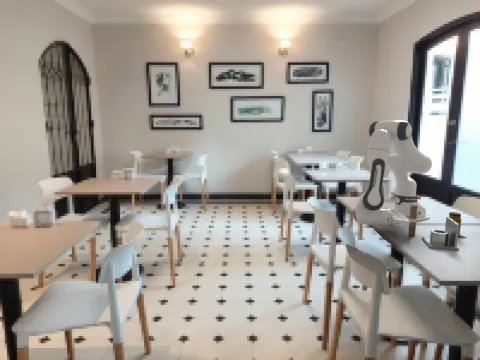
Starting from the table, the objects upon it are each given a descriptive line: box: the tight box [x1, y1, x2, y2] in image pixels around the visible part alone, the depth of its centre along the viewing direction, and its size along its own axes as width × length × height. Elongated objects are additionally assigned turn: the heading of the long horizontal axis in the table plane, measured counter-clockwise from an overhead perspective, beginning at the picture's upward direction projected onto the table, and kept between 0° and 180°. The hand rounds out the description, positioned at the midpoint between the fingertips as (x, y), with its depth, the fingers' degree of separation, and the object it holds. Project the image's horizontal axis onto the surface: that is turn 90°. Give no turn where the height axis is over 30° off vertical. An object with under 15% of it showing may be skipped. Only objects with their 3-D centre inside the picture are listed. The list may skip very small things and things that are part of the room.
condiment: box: [448, 211, 466, 239], centre depth 184 cm, size 7×8×12 cm
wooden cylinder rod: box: [407, 205, 418, 238], centre depth 182 cm, size 3×3×16 cm
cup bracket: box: [421, 216, 460, 251], centre depth 170 cm, size 12×14×12 cm
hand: (414, 219), depth 182 cm, fingers closed on wooden cylinder rod, 3 cm apart
